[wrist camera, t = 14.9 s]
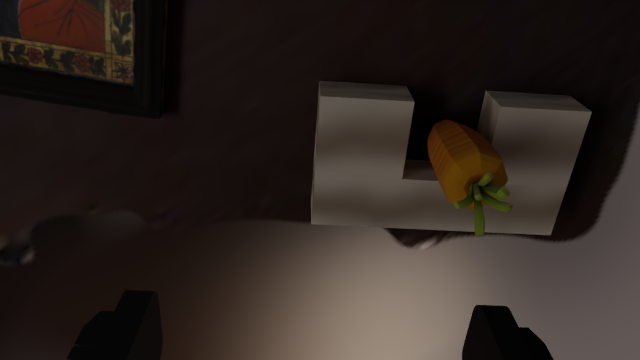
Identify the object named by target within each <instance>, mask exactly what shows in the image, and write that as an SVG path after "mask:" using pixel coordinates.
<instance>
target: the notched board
mask: <svg viewBox="0 0 640 360" xmlns="http://www.w3.org/2000/svg"><path fill="white" fill-rule="evenodd" d="M413 108H414V100H413V98H412V96H411V94H410V92H409V90H408V88H407V87H406V86H399V85H382V84H366V83H349V82H332V81H319V95H318V109H317V123H316V138H315V152H314V167H313V181H312V196H311V224H320V225H343V226H364V227H386V228H407V229H429V230H451V231H472V232H475V219H474V209H473V210H471V209H468V208H461V209H456V208H455V207H454V205H453V204H452V203H450V202H449V201H448V200H447V199H446V197H445V194H444V192H443V190H442V188H441V186H440V183H439V181H438V178H437V176H436V173H435V170H434V168H433V165H432V163H431V161H427V160H408V159H405V158H406V152H407V145H408V139H409V133H410V127H411V121H412V115H413ZM591 113H592V112H591V111H590V110H588V109H587V108H586V107H584V106H583V105H582V104H580V103H579V102H578V101H576V100H575V99H574V98H572V97H571V96H566V95H550V94H533V93H516V92H499V91H486V92H485V97H484V101H483V105H482V110H481V114H480V119H479V123H478V127H477V132H478V133H479V134H481V135H482V136H483V137H484V138H485V139H486V140H487V141H488V142H489V143H490V144H491V145H492V146H493V147H494V148H495V150H496V151H497V152H498V153H499V154H500V156H501V158H502V161H503V165H504V168H505V171H506V174H507V177H508V182H507V183H506V185H505V186H504V187H505V188H507V189H508V190H509V192H510V195H509V196H508V198H507V199H505V200H504V201H502V200H498V199H497V200H498V201H502V202H506V203H509V204H512V205H513V206H512V210H511V211H510V212H509V213H506V212H501V211H498V210H495V209H493V208H491V207H490V206H489V205H487V204H486V205H484V206H482V208H483V214H484V220H485V230H484V232H494V233H516V234H538V235H551V232H552V229H553V226H554V223H555V220H556V217H557V215H558V212H559V209H560V206H561V203H562V200H563V197H564V194H565V191H566V188H567V185H568V182H569V179H570V176H571V173H572V170H573V167H574V164H575V161H576V158H577V155H578V152H579V149H580V146H581V143H582V140H583V137H584V134H585V131H586V128H587V125H588V122H589V119H590V116H591Z"/></svg>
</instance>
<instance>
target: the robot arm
mask: <svg viewBox="0 0 640 360" xmlns="http://www.w3.org/2000/svg"><path fill="white" fill-rule="evenodd" d="M162 343H163V337H162V327H161V317H160V307H159V298H158V293H157V292H155V291H131V290H130V291H129V290H126V291H125V292H124V293H123V294H122V296H121V298H120V300H119V303H118V305H117V307H116V309H115V311H100V312H99V313H98V314H97V315H95V316H94V317H93V318H92V319H91V320H90V321H89V322H88V323H86V324H85V325H84V327H83V328H82V330H81V332H80V334H79V336H78V338H77V340H76V341H75V344H74V347H73V348H72V349H71V351H70V353H69V355H68V357H67V360H160V358H161V352H162ZM462 360H553V358H552V356H551V354H550V352H549V351H548V349H547V347H546V345H545V343H544V342H543V341H542V340H541V339H540V338H539V337H538V336H536V335H535V334H534V333H533V332H532V331H531V330H530V329H529V328H521V327H520V328H519V327H518V325H517V323H516V321H515V319H514V317H513V315H512V313H511V311H510V309H509V308H508V307H506V306H490V305H476V306H475V308H474V310H473V313H472V317H471V321H470V324H469V328H468V331H467V335H466V339H465V342H464V346H463V351H462Z"/></svg>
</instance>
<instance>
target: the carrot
mask: <svg viewBox="0 0 640 360" xmlns="http://www.w3.org/2000/svg"><path fill="white" fill-rule="evenodd" d="M427 142H428V153H429V158H430V160H431V163H432V165H433V168H434V170H435V173H436V176H437V178H438V181H439V183H440V186H441V188H442V190H443V192H444V194H445V197H446V199H447V200H448V201H449V202H450V203H452V204H453V205H454V207H455V208H456V209H461V208H468V209H471V210H473V209H474V219H475V236H481V235H484V230H485V220H484V214H483V208H482V206H484V205H486V204H487V205H489V206H490V207H491V208H493V209H495V210H498V211H501V212H506V213H509V212H510V211H511V210H512V206H513V205H512V204H509V203H506V202H502V201H504V200H505V199H507V198H508V196H509V195H510V192H509V190H508V189H507V188H505V187H504V186H505V185H506V183H507V182H508V177H507V174H506V171H505V168H504V165H503V161H502V158H501V156H500V154H499V153H498V152H497V151H496V150H495V148H494V147H493V146H492V145H491V144H490V143H489V142H488V141H487V140H486V139H485V138H484V137H483V136H482V135H481V134H479V133H478V132H476V131H474V130H473V129H471V128H469V127H467V126H465V125H463V124H460V123H457V122H454V121H451V120H442V121H440V122H437V123H435V124H434V126H433V128H432V130H431V132H430V134H429V137H428V140H427ZM497 199H498V200H502V201H498V200H497Z"/></svg>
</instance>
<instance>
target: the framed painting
mask: <svg viewBox="0 0 640 360" xmlns="http://www.w3.org/2000/svg"><path fill="white" fill-rule="evenodd" d="M167 9H168V0H0V95H2V96H9V97H15V98H21V99H28V100H34V101H40V102H47V103H53V104H59V105H66V106H72V107H79V108H85V109H91V110H97V111H103V112H109V113H113V114H123V115H131V116H137V117H145V118H152V119H160V118H161V116H162V114H163V103H164V79H165V56H166V30H167Z"/></svg>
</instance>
